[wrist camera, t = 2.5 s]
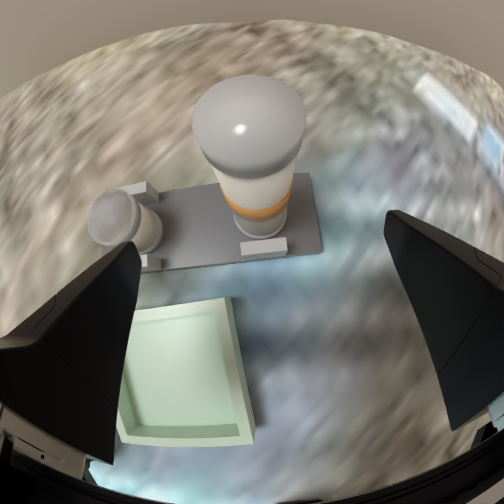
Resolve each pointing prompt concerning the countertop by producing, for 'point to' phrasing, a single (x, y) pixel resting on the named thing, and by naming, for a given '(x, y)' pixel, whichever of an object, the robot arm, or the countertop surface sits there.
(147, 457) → the countertop surface
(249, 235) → the banded fuse
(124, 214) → the cylinder
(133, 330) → the tray
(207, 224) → the block
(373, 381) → the countertop surface
